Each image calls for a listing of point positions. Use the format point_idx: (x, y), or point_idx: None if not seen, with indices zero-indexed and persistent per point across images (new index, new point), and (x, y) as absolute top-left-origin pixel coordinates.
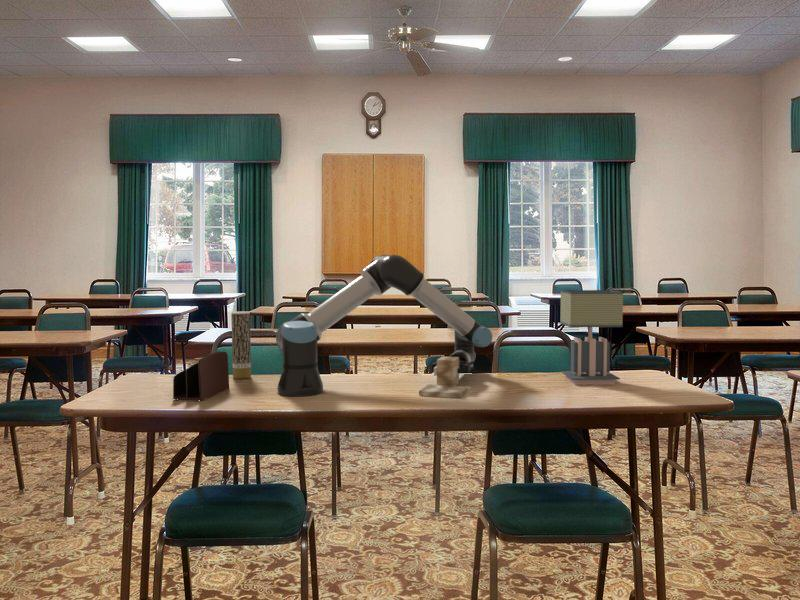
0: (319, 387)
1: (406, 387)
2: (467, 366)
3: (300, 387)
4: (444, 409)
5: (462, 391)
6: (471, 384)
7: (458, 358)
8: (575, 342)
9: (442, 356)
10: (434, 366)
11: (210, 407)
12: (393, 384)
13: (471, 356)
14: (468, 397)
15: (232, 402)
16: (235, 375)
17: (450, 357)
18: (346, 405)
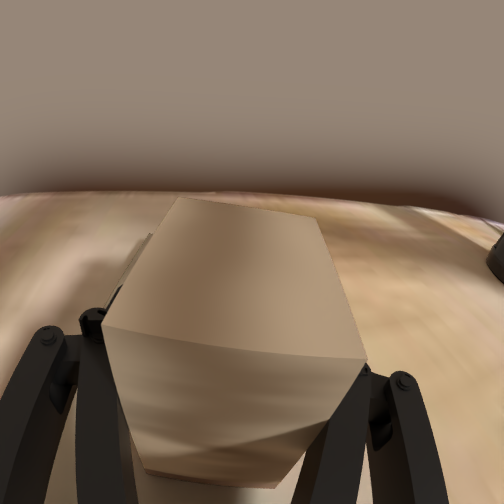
0: (498, 261)
1: (412, 366)
2: (47, 329)
3: (496, 243)
4: (195, 193)
5: (140, 250)
6: (56, 493)
7: (113, 316)
8: None
9: (361, 351)
10: (371, 375)
11: (490, 226)
12: (482, 397)
13: None
14: (122, 254)
15: None
16: None
17: (226, 298)
18: (388, 219)
